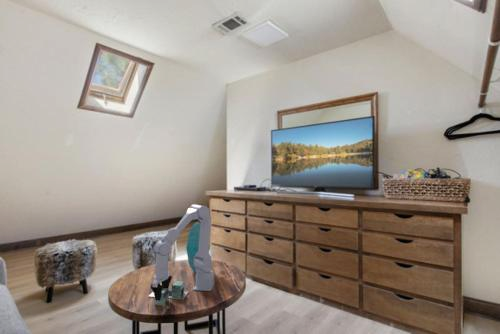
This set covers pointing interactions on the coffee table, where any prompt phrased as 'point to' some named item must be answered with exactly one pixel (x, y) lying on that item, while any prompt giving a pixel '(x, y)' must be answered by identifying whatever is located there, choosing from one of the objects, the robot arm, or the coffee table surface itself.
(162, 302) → the block
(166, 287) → the robot arm
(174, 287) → the rail
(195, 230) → the crystal
